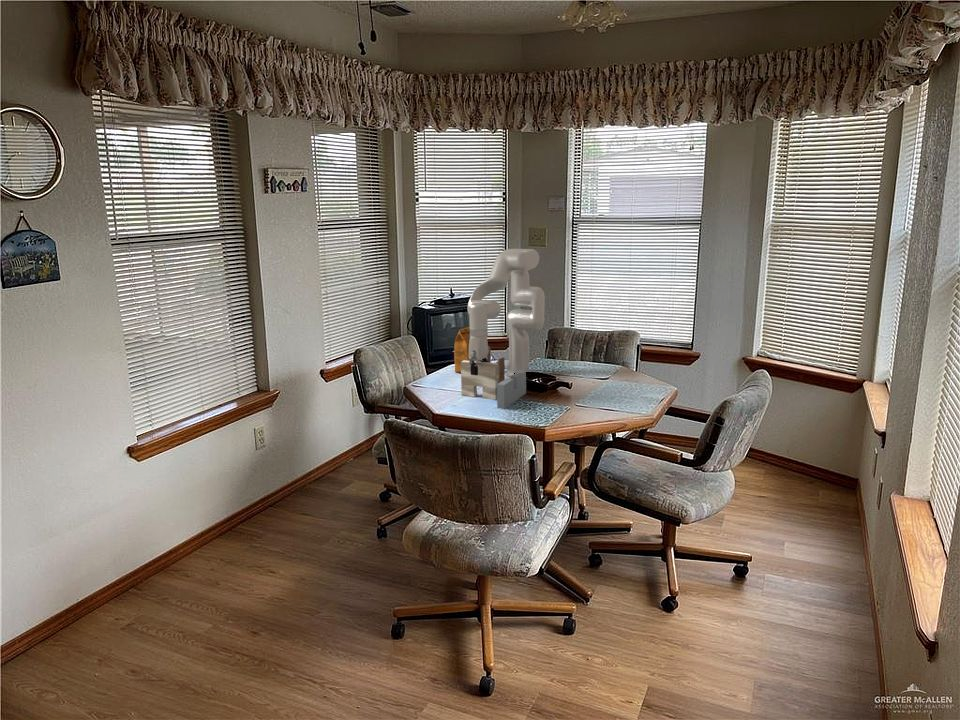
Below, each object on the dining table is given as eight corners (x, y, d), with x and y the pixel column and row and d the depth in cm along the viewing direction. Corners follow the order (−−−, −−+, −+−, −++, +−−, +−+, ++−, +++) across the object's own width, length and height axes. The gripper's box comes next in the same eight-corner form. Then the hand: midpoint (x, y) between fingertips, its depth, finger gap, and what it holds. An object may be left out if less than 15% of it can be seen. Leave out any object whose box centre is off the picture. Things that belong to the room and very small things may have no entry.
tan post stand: (500, 389, 298) (499, 350, 294) (481, 386, 304) (480, 347, 300) (505, 387, 301) (504, 348, 297) (486, 384, 307) (485, 345, 303)
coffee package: (483, 370, 332) (482, 326, 327) (467, 375, 323) (466, 330, 318) (468, 367, 338) (467, 324, 333) (451, 372, 329) (450, 328, 324)
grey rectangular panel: (519, 392, 293) (519, 370, 291) (526, 393, 292) (526, 371, 289) (497, 408, 272) (497, 384, 270) (504, 409, 271) (503, 385, 268)
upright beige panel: (464, 393, 293) (463, 360, 289) (498, 397, 286) (498, 363, 283) (461, 395, 290) (460, 361, 287) (495, 399, 284) (495, 365, 280)
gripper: (479, 328, 291) (480, 366, 295) (461, 336, 276) (462, 376, 280) (495, 329, 288) (495, 368, 292) (477, 337, 272) (478, 378, 276)
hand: (479, 372), depth 286 cm, fingers open, 9 cm apart
